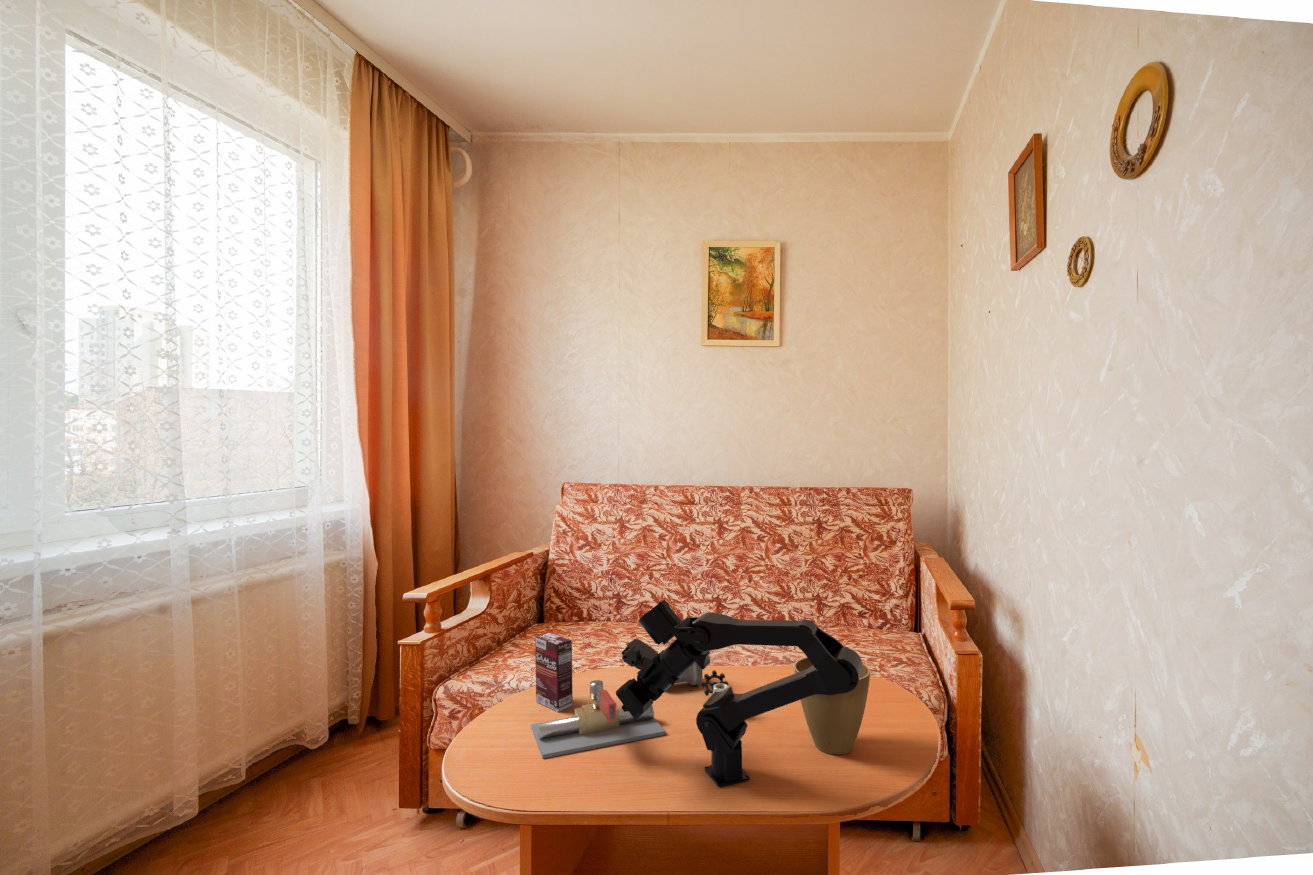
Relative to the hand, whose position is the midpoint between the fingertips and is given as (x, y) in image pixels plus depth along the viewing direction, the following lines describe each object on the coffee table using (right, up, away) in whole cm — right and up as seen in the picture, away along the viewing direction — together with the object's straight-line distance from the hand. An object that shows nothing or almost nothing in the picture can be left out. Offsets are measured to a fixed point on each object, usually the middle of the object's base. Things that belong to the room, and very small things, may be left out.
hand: (623, 709), depth 125 cm
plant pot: (+42, -8, +2) cm, 43 cm away
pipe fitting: (+12, -9, +33) cm, 36 cm away
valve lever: (-4, -1, +4) cm, 6 cm away
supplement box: (-18, -9, +23) cm, 30 cm away
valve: (+21, -9, +20) cm, 30 cm away
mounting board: (-6, -9, +9) cm, 14 cm away
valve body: (-6, -9, +9) cm, 14 cm away
